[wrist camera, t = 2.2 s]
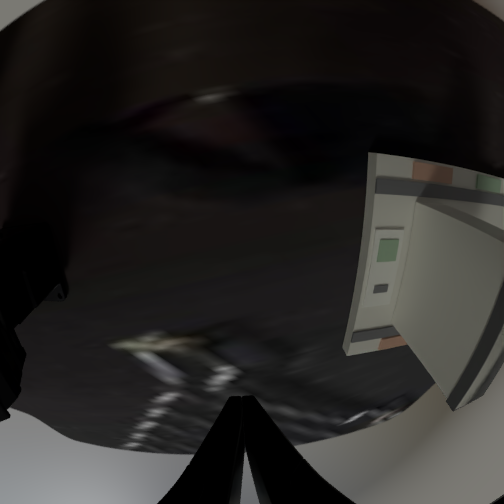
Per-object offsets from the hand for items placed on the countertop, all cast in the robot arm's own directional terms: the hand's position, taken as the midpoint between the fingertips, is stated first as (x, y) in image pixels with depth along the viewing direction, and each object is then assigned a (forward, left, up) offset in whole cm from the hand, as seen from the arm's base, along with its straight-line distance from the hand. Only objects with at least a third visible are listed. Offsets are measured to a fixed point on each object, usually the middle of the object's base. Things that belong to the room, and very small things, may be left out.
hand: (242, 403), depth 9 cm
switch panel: (+17, 0, -11) cm, 21 cm away
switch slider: (+14, 0, -10) cm, 17 cm away
